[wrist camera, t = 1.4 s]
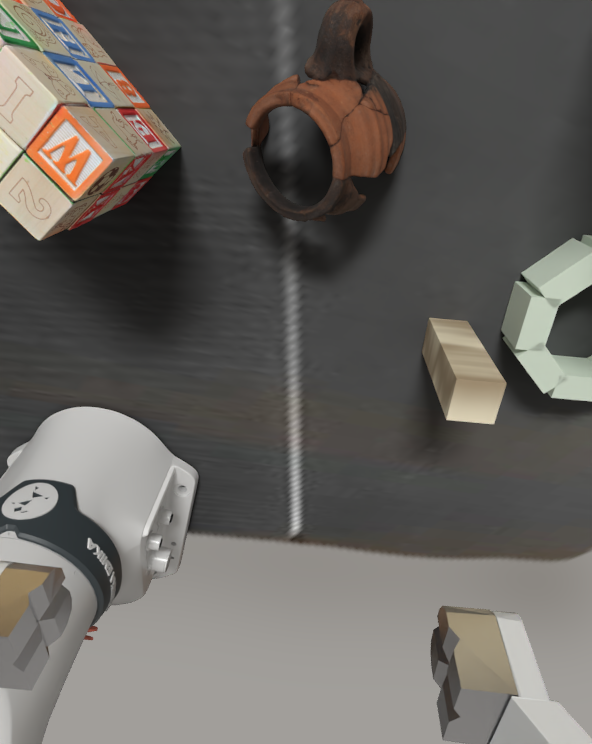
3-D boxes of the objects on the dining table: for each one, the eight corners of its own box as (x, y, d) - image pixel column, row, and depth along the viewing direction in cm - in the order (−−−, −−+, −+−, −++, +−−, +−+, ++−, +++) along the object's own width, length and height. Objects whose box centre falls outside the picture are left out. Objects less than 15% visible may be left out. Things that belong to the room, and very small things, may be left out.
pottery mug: (403, 206, 35) (350, 253, 29) (293, 175, 38) (228, 211, 33) (446, -3, 26) (383, 10, 21) (301, -20, 30) (216, -12, 25)
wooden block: (458, 355, 39) (493, 424, 30) (421, 351, 39) (446, 419, 31) (467, 321, 38) (506, 383, 29) (428, 317, 38) (456, 378, 29)
